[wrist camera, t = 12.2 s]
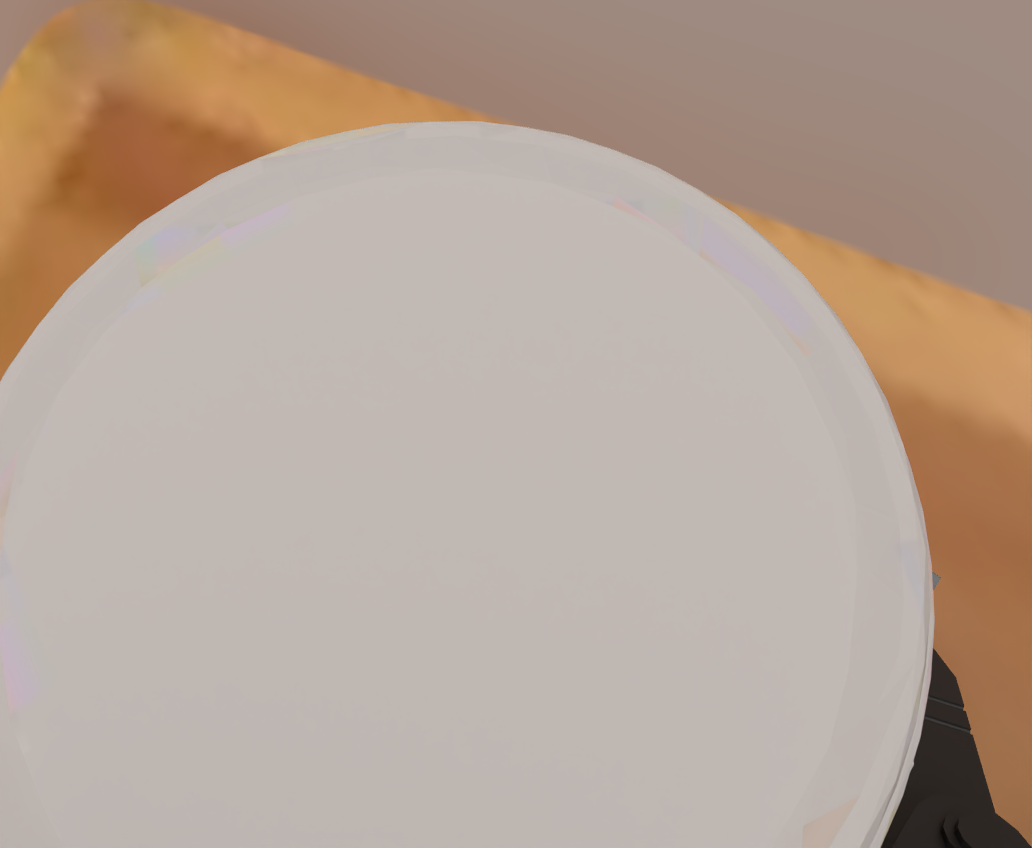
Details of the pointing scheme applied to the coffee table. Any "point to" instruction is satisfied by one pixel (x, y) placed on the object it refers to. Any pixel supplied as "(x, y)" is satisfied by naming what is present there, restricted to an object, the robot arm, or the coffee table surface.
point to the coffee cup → (453, 521)
